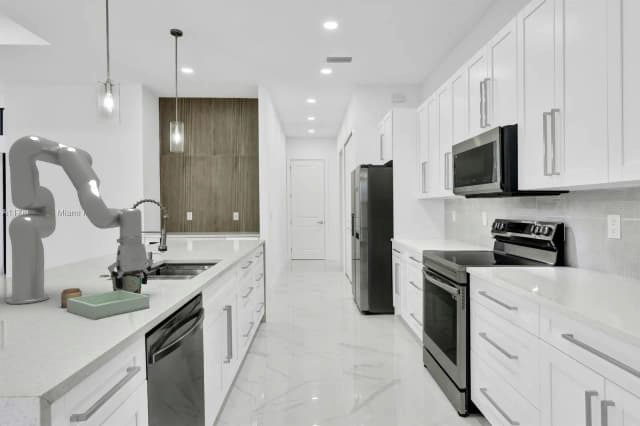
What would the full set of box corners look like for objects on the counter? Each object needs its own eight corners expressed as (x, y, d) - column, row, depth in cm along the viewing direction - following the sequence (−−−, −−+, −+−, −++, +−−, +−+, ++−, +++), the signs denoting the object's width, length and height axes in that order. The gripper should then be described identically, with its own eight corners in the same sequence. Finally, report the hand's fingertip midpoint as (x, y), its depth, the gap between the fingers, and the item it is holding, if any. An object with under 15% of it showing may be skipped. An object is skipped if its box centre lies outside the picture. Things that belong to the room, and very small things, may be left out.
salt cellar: (57, 306, 136) (57, 290, 136) (76, 303, 141) (76, 287, 141) (66, 309, 133) (66, 292, 133) (84, 305, 138) (84, 289, 138)
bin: (66, 311, 131) (66, 298, 130) (120, 300, 145) (120, 289, 145) (94, 319, 120) (94, 306, 120) (149, 307, 135) (149, 296, 135)
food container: (150, 296, 153) (150, 270, 153) (141, 300, 147) (141, 272, 147) (120, 295, 154) (120, 269, 154) (110, 299, 148) (110, 272, 148)
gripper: (113, 243, 141) (114, 291, 141) (157, 239, 155) (158, 283, 156) (102, 242, 145) (103, 289, 146) (146, 239, 160) (147, 281, 160)
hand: (131, 286), depth 151 cm, fingers open, 9 cm apart
